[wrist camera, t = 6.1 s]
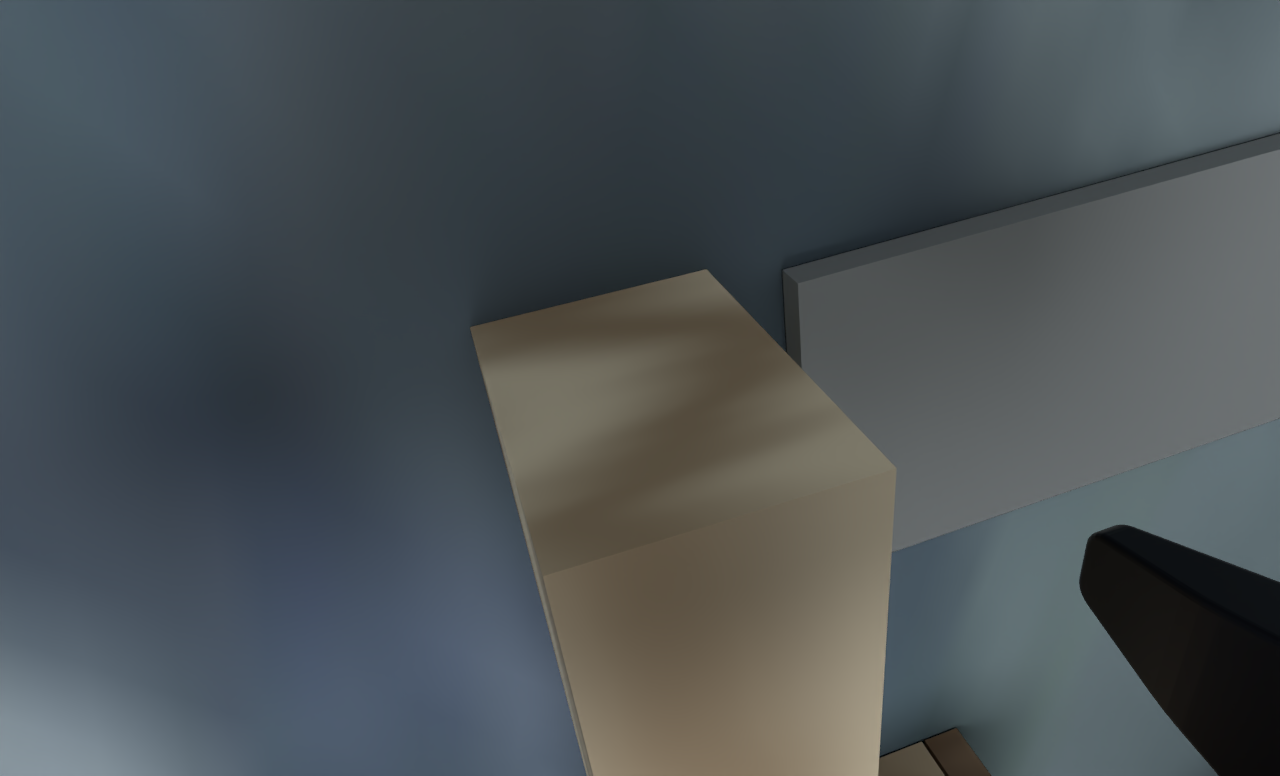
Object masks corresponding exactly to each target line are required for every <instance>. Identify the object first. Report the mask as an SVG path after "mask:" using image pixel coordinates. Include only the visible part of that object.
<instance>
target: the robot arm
mask: <svg viewBox="0 0 1280 776" xmlns="http://www.w3.org/2000/svg"><path fill="white" fill-rule="evenodd" d="M1079 585H1080V590H1081V593H1082V596H1083V598H1084V600H1085V601H1086V603H1087V605H1088V606H1089V607H1090V609H1091V610H1092V612H1093V613H1094V614H1095V616H1096V617H1097V619H1098V620H1099V621H1100V623H1101V624H1102V626H1103V627H1104V628H1105V630H1106V631H1107V633H1108V634H1109V635H1110V637H1111V638H1112V640H1113V641H1114V642H1115V644H1116V645H1117V647H1118V648H1119V649H1120V651H1121V652H1122V654H1123V655H1124V656H1125V658H1126V659H1127V661H1128V662H1129V663H1130V665H1131V666H1132V668H1133V669H1134V671H1135V672H1136V673H1137V675H1138V676H1139V678H1140V679H1141V680H1142V682H1143V683H1144V685H1145V686H1146V687H1147V689H1148V690H1149V692H1150V693H1151V694H1152V696H1153V697H1154V698H1155V700H1156V701H1157V702H1158V704H1159V705H1160V706H1161V708H1162V709H1163V710H1164V711H1165V713H1166V714H1167V715H1168V716H1169V718H1170V719H1171V720H1172V721H1173V722H1174V724H1175V725H1176V726H1177V727H1178V729H1179V730H1180V731H1181V732H1182V733H1183V734H1184V736H1185V737H1186V738H1187V739H1188V740H1189V741H1190V743H1191V744H1192V745H1193V746H1194V747H1195V748H1196V750H1197V751H1198V752H1199V753H1200V754H1201V755H1202V756H1203V758H1204V759H1205V760H1206V761H1207V762H1208V763H1209V765H1210V766H1211V767H1212V768H1213V769H1214V770H1215V772H1216V773H1217V774H1218V775H1219V776H1280V582H1278V581H1275V580H1273V579H1270V578H1267V577H1265V576H1262V575H1259V574H1257V573H1254V572H1252V571H1249V570H1246V569H1244V568H1241V567H1238V566H1236V565H1233V564H1230V563H1228V562H1225V561H1222V560H1220V559H1217V558H1214V557H1212V556H1209V555H1206V554H1204V553H1201V552H1198V551H1196V550H1193V549H1191V548H1188V547H1185V546H1183V545H1180V544H1177V543H1175V542H1172V541H1169V540H1167V539H1164V538H1161V537H1159V536H1156V535H1153V534H1151V533H1148V532H1145V531H1143V530H1140V529H1137V528H1135V527H1132V526H1128V525H1116V526H1113V527H1110V528H1107V529H1104V530H1102V531H1099V532H1096V533H1094V534H1092V535H1091V536H1090V537H1089V539H1088V541H1087V545H1086V549H1085V554H1084V559H1083V564H1082V569H1081V574H1080V579H1079Z"/></svg>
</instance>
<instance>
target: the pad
mask: <svg viewBox="0 0 1280 776" xmlns="http://www.w3.org/2000/svg"><path fill="white" fill-rule="evenodd" d="M782 273H783V291H784V310H785V328H786V346H787V354H788V355H789V356H790V357H791V358H792V359H793V360H794V361H795V362H796V363H797V364H798V365H799V367H800V368H801V369H802V370H803V371H804V372H805V373H806V374H807V375H808V376H809V377H810V378H811V379H812V380H813V381H814V382H815V383H816V384H817V385H818V386H819V387H820V389H821V390H822V391H823V392H824V393H825V394H826V395H827V396H828V397H829V398H830V399H831V400H832V401H833V402H834V403H835V404H836V405H837V406H838V407H839V408H840V409H841V410H842V412H843V413H844V414H845V415H846V416H847V417H848V418H849V419H850V420H851V421H852V422H853V423H854V424H855V425H856V426H857V427H858V428H859V429H860V430H861V431H862V432H863V434H864V435H865V436H866V437H867V438H868V439H869V440H870V441H871V442H872V443H873V444H874V445H875V446H876V447H877V448H878V449H879V450H880V451H881V452H882V453H883V454H884V455H885V457H886V458H887V459H888V460H889V461H890V462H891V463H892V464H893V465H894V466H895V467H896V468H897V470H896V486H895V503H894V520H893V536H892V552H895V551H898V550H901V549H904V548H906V547H909V546H912V545H915V544H918V543H921V542H924V541H927V540H930V539H932V538H935V537H938V536H941V535H944V534H947V533H950V532H953V531H956V530H958V529H961V528H964V527H967V526H970V525H973V524H976V523H979V522H982V521H985V520H987V519H990V518H993V517H996V516H999V515H1002V514H1005V513H1008V512H1011V511H1013V510H1016V509H1019V508H1022V507H1025V506H1028V505H1031V504H1034V503H1037V502H1039V501H1042V500H1045V499H1048V498H1051V497H1054V496H1057V495H1060V494H1063V493H1065V492H1068V491H1071V490H1074V489H1077V488H1080V487H1083V486H1086V485H1089V484H1091V483H1094V482H1097V481H1100V480H1103V479H1106V478H1109V477H1112V476H1115V475H1118V474H1120V473H1123V472H1126V471H1129V470H1132V469H1135V468H1138V467H1141V466H1144V465H1146V464H1149V463H1152V462H1155V461H1158V460H1161V459H1164V458H1167V457H1170V456H1172V455H1175V454H1178V453H1181V452H1184V451H1187V450H1190V449H1193V448H1196V447H1198V446H1201V445H1204V444H1207V443H1210V442H1213V441H1216V440H1219V439H1222V438H1224V437H1227V436H1230V435H1233V434H1236V433H1239V432H1242V431H1245V430H1248V429H1250V428H1253V427H1256V426H1259V425H1262V424H1265V423H1268V422H1271V421H1274V420H1277V419H1279V418H1280V134H1276V135H1272V136H1269V137H1265V138H1262V139H1258V140H1254V141H1251V142H1247V143H1243V144H1240V145H1236V146H1232V147H1229V148H1225V149H1221V150H1218V151H1214V152H1210V153H1207V154H1203V155H1200V156H1196V157H1192V158H1189V159H1185V160H1181V161H1178V162H1174V163H1170V164H1167V165H1163V166H1159V167H1156V168H1152V169H1148V170H1145V171H1141V172H1138V173H1134V174H1130V175H1127V176H1123V177H1119V178H1116V179H1112V180H1108V181H1105V182H1101V183H1097V184H1094V185H1090V186H1086V187H1083V188H1079V189H1076V190H1072V191H1068V192H1065V193H1061V194H1057V195H1054V196H1050V197H1046V198H1043V199H1039V200H1035V201H1032V202H1028V203H1024V204H1021V205H1017V206H1014V207H1010V208H1006V209H1003V210H999V211H995V212H992V213H988V214H984V215H981V216H977V217H973V218H970V219H966V220H962V221H959V222H955V223H952V224H948V225H944V226H941V227H937V228H933V229H930V230H926V231H922V232H919V233H915V234H911V235H908V236H904V237H900V238H897V239H893V240H890V241H886V242H882V243H879V244H875V245H871V246H868V247H864V248H860V249H857V250H853V251H849V252H846V253H842V254H838V255H835V256H831V257H827V258H824V259H820V260H817V261H813V262H809V263H806V264H802V265H798V266H795V267H791V268H787V269H784V270H782Z"/></svg>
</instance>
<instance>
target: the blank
mask: <svg viewBox="0 0 1280 776" xmlns="http://www.w3.org/2000/svg"><path fill="white" fill-rule="evenodd" d="M470 330H471V334H472V337H473V341H474V345H475V349H476V353H477V357H478V360H479V364H480V368H481V372H482V376H483V380H484V383H485V387H486V391H487V395H488V399H489V403H490V406H491V410H492V414H493V418H494V422H495V426H496V429H497V433H498V437H499V441H500V445H501V449H502V452H503V456H504V460H505V464H506V468H507V472H508V475H509V479H510V483H511V487H512V491H513V495H514V498H515V502H516V506H517V510H518V514H519V518H520V521H521V525H522V529H523V533H524V537H525V541H526V544H527V548H528V552H529V556H530V560H531V564H532V567H533V571H534V575H535V579H536V583H537V587H538V590H539V594H540V598H541V602H542V606H543V610H544V613H545V617H546V621H547V625H548V629H549V633H550V636H551V640H552V644H553V648H554V652H555V656H556V659H557V663H558V667H559V671H560V675H561V679H562V682H563V686H564V690H565V694H566V698H567V702H568V705H569V709H570V713H571V717H572V721H573V725H574V728H575V732H576V736H577V740H578V744H579V748H580V751H581V755H582V759H583V763H584V767H585V771H586V774H587V776H878V770H879V753H880V736H881V720H882V703H883V686H884V670H885V653H886V636H887V620H888V603H889V586H890V570H891V553H892V536H893V520H894V503H895V486H896V470H897V468H896V467H895V466H894V465H893V464H892V463H891V462H890V461H889V460H888V459H887V458H886V457H885V455H884V454H883V453H882V452H881V451H880V450H879V449H878V448H877V447H876V446H875V445H874V444H873V443H872V442H871V441H870V440H869V439H868V438H867V437H866V436H865V435H864V434H863V432H862V431H861V430H860V429H859V428H858V427H857V426H856V425H855V424H854V423H853V422H852V421H851V420H850V419H849V418H848V417H847V416H846V415H845V414H844V413H843V412H842V410H841V409H840V408H839V407H838V406H837V405H836V404H835V403H834V402H833V401H832V400H831V399H830V398H829V397H828V396H827V395H826V394H825V393H824V392H823V391H822V390H821V389H820V387H819V386H818V385H817V384H816V383H815V382H814V381H813V380H812V379H811V378H810V377H809V376H808V375H807V374H806V373H805V372H804V371H803V370H802V369H801V368H800V367H799V365H798V364H797V363H796V362H795V361H794V360H793V359H792V358H791V357H790V356H789V355H788V354H787V353H786V352H785V351H784V350H783V349H782V348H781V347H780V346H779V345H778V344H777V342H776V341H775V340H774V339H773V338H772V337H771V336H770V335H769V334H768V333H767V332H766V331H765V330H764V329H763V328H762V327H761V326H760V325H759V324H758V323H757V322H756V321H755V319H754V318H753V317H752V316H751V315H750V314H749V313H748V312H747V311H746V310H745V309H744V308H743V307H742V306H741V305H740V304H739V303H738V302H737V301H736V300H735V299H734V297H733V296H732V295H731V294H730V293H729V292H728V291H727V290H726V289H725V288H724V287H723V286H722V285H721V284H720V283H719V282H718V281H717V280H716V279H715V278H714V277H713V276H712V274H711V273H710V272H709V271H708V270H707V269H705V270H701V271H697V272H693V273H689V274H685V275H681V276H677V277H673V278H668V279H664V280H660V281H656V282H652V283H648V284H644V285H640V286H636V287H632V288H628V289H623V290H619V291H615V292H611V293H607V294H603V295H599V296H595V297H591V298H587V299H583V300H579V301H574V302H570V303H566V304H562V305H558V306H554V307H550V308H546V309H542V310H538V311H534V312H529V313H525V314H521V315H517V316H513V317H509V318H505V319H501V320H497V321H493V322H489V323H485V324H480V325H476V326H472V327H470Z"/></svg>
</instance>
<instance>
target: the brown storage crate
mask: <svg viewBox="0 0 1280 776" xmlns="http://www.w3.org/2000/svg"><path fill="white" fill-rule="evenodd" d="M878 776H991V774H990V773H989V772H988V770H987V769H986V768H985V766H984V765H983V764H982V762H981V761H980V759H979V758H978V757H977V755H976V754H975V753H974V751H973V750H972V749H971V747H970V746H969V744H968V743H967V742H966V740H965V739H964V738H963V736H962V735H961V733H960V732H959V731H958V729H957V728H955V729H953V730H950V731H947V732H945V733H942V734H940V735H937V736H935V737H932V738H930V739H927V740H925V746H924V744H923V743H922V742H919V743H917V744H914V745H912V746H909V747H907V748H904V749H902V750H899V751H896V752H894V753H891V754H889V755H886V756H884V757H881V758H879V770H878Z"/></svg>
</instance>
